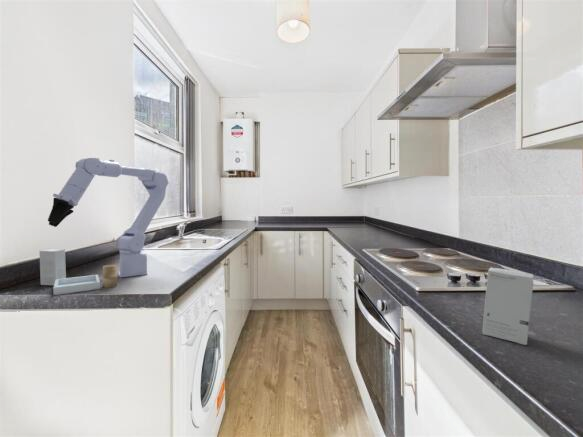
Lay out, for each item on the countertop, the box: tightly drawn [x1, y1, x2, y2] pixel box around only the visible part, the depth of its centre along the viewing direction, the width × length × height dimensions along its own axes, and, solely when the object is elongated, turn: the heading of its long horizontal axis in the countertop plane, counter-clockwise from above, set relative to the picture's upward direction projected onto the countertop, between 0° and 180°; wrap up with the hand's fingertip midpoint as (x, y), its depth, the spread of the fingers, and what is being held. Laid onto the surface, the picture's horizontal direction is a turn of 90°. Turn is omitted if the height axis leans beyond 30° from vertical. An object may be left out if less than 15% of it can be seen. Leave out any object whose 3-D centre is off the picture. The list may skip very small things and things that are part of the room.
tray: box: [52, 274, 101, 296], centre depth 97 cm, size 12×12×2 cm
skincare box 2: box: [482, 267, 534, 346], centre depth 65 cm, size 8×6×15 cm
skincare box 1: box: [39, 248, 67, 286], centre depth 101 cm, size 6×4×12 cm
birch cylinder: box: [102, 264, 118, 289], centre depth 99 cm, size 4×4×7 cm
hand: (51, 224), depth 92 cm, fingers open, 7 cm apart
